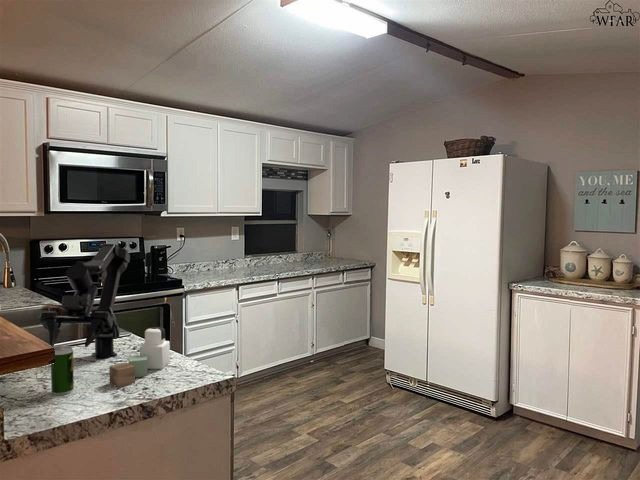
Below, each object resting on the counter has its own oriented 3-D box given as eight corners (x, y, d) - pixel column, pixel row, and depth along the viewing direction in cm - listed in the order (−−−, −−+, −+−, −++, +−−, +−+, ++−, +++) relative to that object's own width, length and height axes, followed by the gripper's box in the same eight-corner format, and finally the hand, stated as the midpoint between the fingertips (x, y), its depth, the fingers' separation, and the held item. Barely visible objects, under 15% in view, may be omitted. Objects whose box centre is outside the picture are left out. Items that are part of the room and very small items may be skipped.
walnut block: (109, 383, 142) (109, 366, 142) (126, 379, 146) (126, 362, 146) (117, 387, 139) (117, 370, 139) (134, 383, 143) (134, 366, 142)
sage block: (128, 372, 151) (128, 356, 151) (146, 370, 153) (146, 354, 153) (129, 378, 147) (129, 361, 146) (147, 376, 149) (147, 359, 148)
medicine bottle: (148, 361, 162) (147, 325, 161) (170, 362, 162) (169, 325, 161) (139, 368, 155) (139, 330, 154) (162, 369, 155) (162, 331, 154)
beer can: (52, 397, 131) (51, 352, 130) (50, 390, 136) (49, 347, 135) (75, 393, 134) (74, 349, 133) (72, 387, 139) (71, 344, 138)
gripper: (41, 283, 142) (22, 331, 132) (109, 283, 144) (95, 331, 133) (54, 305, 150) (37, 352, 140) (118, 305, 152) (106, 351, 141)
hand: (68, 346), depth 138 cm, fingers open, 9 cm apart
